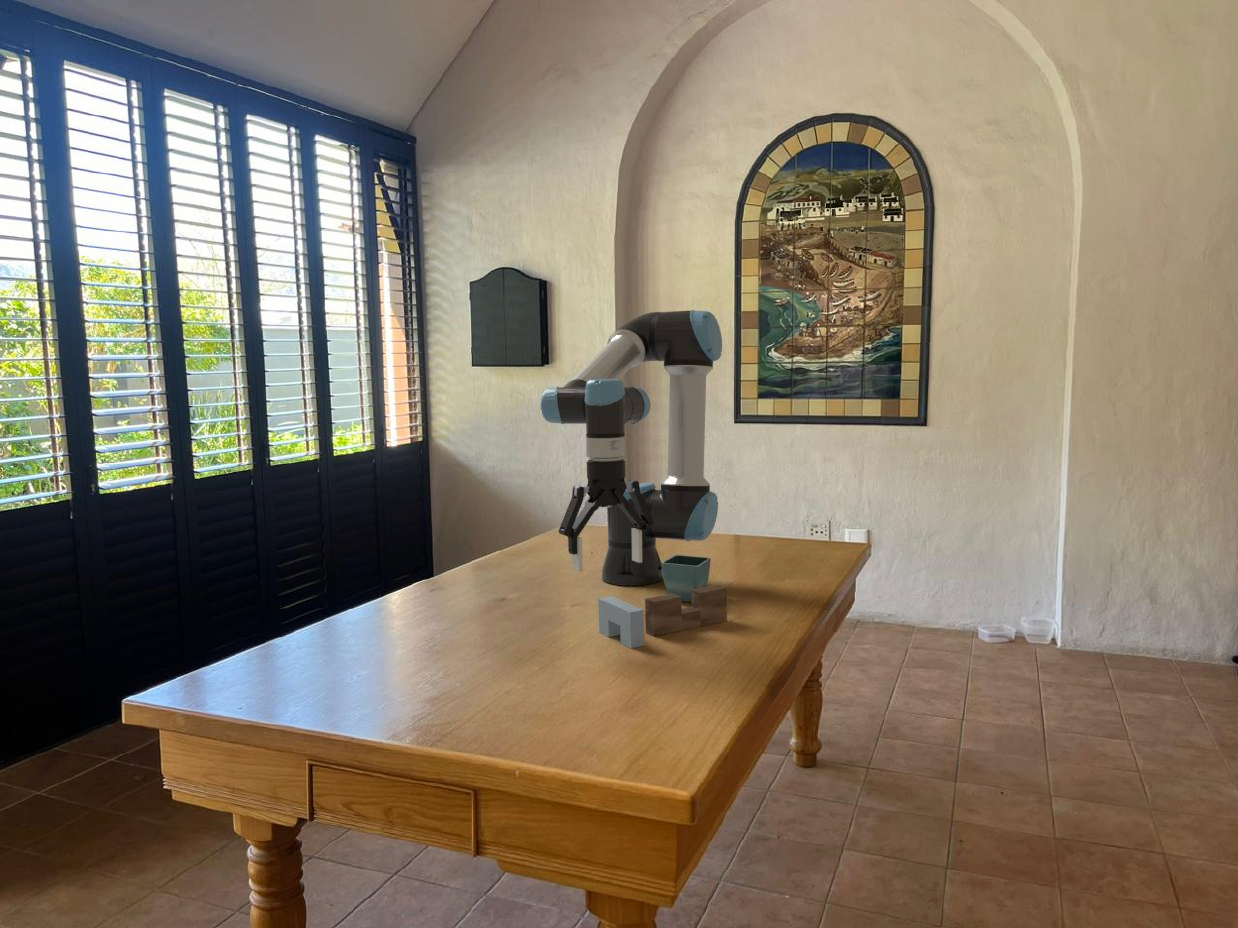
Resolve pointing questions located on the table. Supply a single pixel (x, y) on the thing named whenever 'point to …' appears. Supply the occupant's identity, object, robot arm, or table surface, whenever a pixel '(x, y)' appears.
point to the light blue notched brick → (621, 621)
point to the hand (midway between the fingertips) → (607, 565)
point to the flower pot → (685, 575)
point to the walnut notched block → (685, 611)
